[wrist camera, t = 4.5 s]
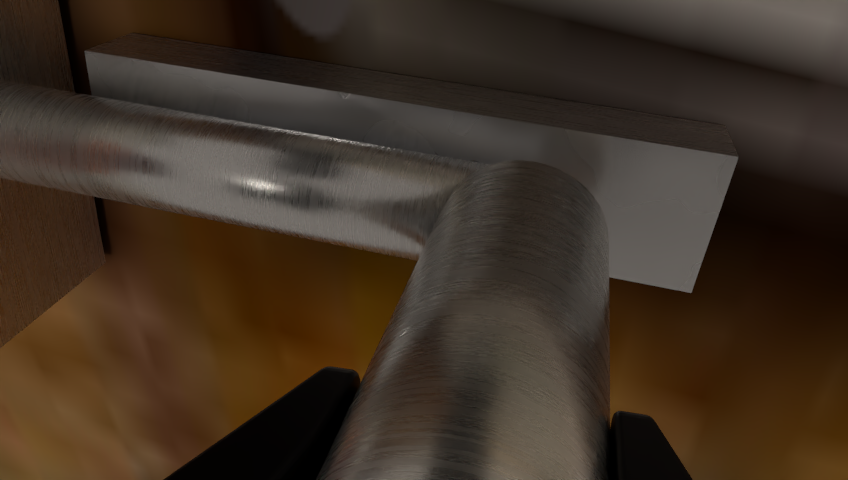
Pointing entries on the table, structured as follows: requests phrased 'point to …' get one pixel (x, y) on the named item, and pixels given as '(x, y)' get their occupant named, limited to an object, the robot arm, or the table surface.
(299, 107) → the slider rail
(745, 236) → the table surface
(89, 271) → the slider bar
